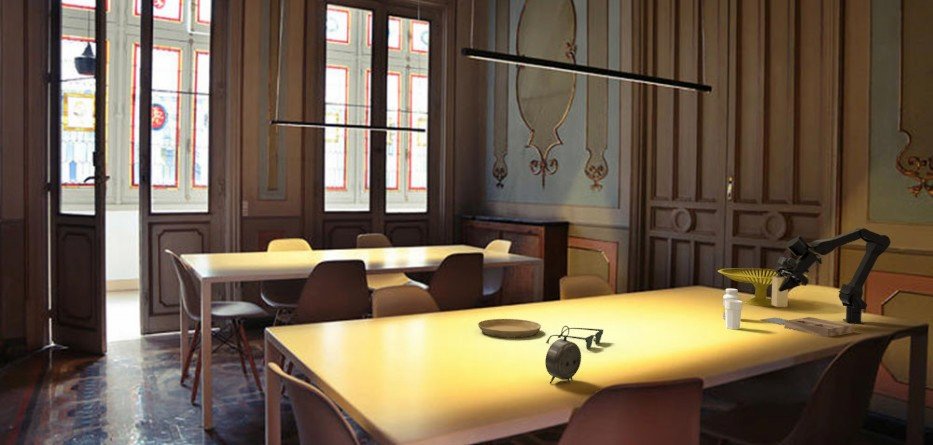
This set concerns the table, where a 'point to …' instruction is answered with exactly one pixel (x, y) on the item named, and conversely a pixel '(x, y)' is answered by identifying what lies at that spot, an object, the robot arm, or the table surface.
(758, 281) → the slatted pedestal fruit bowl
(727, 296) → the supplement bottle
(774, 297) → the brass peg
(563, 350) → the alarm clock
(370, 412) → the table surface
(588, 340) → the sunglasses
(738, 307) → the cup
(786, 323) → the two-hole peg block
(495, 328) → the plant saucer
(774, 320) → the slate mat
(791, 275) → the robot arm
